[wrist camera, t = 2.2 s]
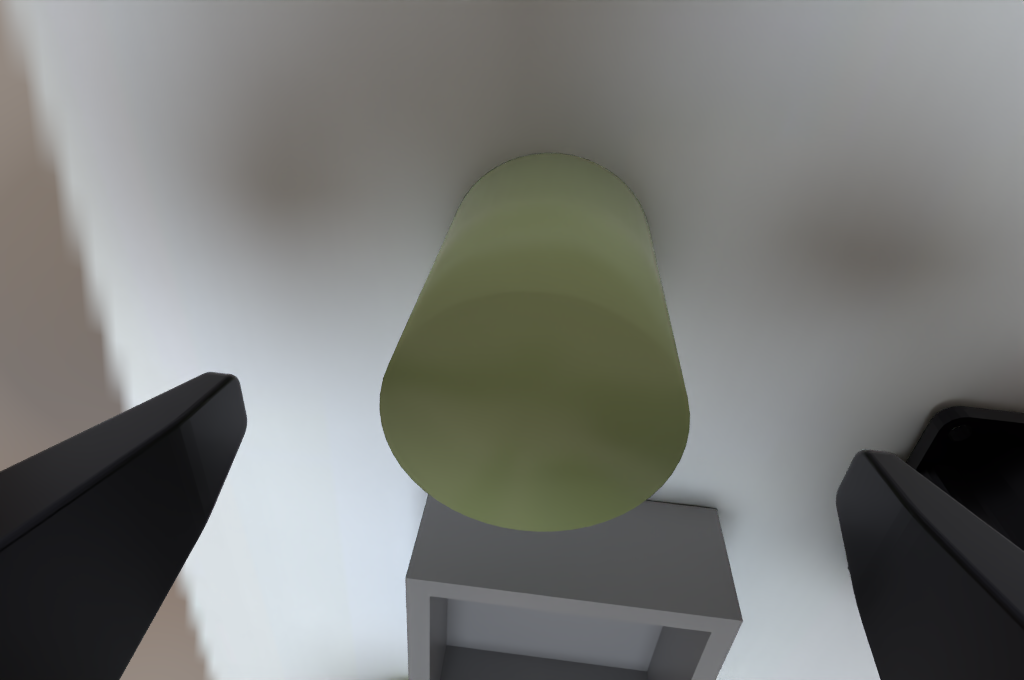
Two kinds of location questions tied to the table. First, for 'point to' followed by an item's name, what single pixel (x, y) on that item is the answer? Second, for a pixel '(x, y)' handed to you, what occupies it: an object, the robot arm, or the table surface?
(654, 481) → the olive cylinder
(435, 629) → the bin
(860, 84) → the table surface
